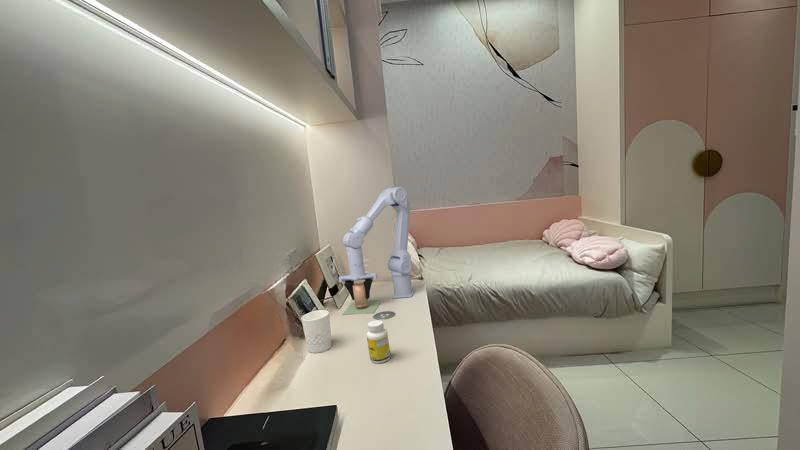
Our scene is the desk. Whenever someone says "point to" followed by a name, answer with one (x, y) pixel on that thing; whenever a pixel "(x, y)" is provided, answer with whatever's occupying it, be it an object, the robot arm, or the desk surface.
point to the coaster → (384, 315)
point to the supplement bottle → (378, 342)
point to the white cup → (317, 331)
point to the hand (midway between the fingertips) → (360, 298)
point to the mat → (362, 308)
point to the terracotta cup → (360, 295)
